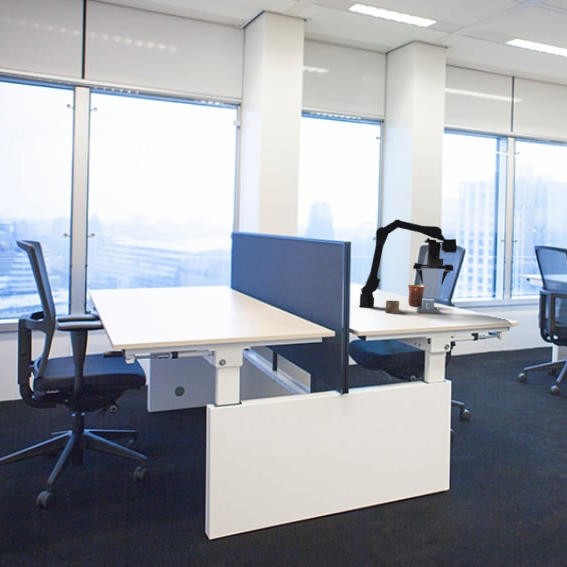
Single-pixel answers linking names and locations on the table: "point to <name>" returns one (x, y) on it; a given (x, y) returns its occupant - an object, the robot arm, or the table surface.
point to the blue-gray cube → (428, 304)
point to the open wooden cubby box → (392, 306)
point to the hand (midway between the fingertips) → (431, 284)
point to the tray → (428, 311)
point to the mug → (415, 295)
